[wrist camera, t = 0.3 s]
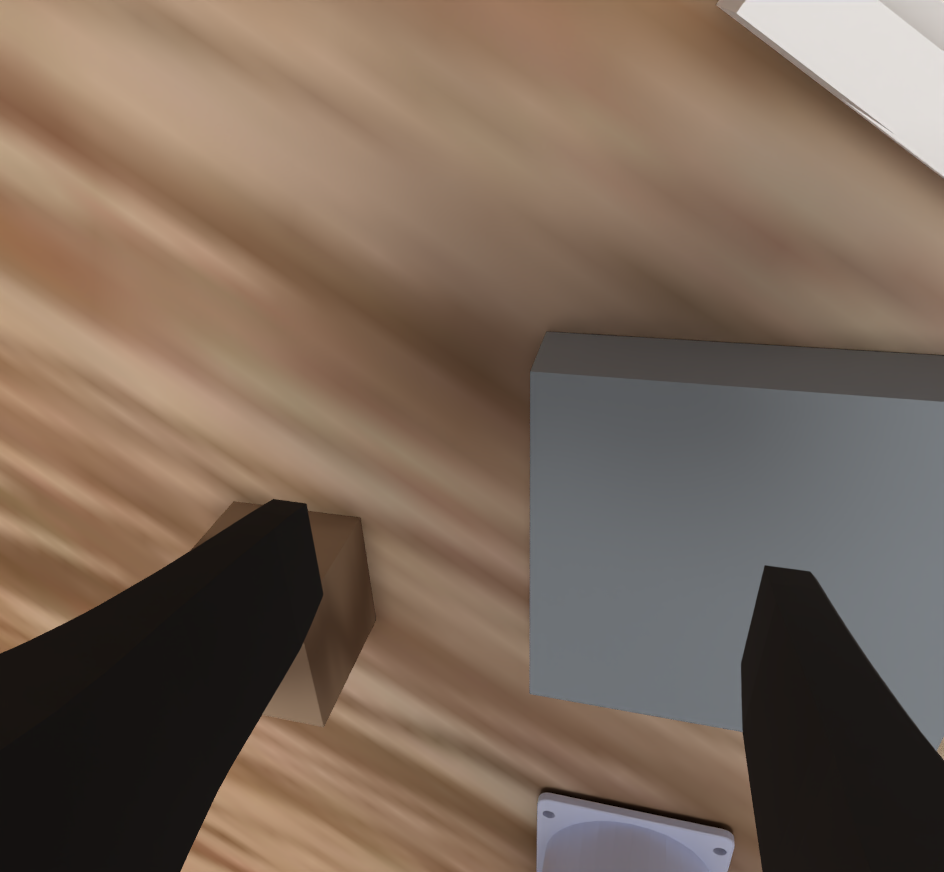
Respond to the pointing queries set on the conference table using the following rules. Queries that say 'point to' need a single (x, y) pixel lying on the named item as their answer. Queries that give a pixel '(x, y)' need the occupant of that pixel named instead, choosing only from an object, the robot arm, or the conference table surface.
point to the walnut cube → (323, 617)
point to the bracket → (865, 59)
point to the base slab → (729, 515)
